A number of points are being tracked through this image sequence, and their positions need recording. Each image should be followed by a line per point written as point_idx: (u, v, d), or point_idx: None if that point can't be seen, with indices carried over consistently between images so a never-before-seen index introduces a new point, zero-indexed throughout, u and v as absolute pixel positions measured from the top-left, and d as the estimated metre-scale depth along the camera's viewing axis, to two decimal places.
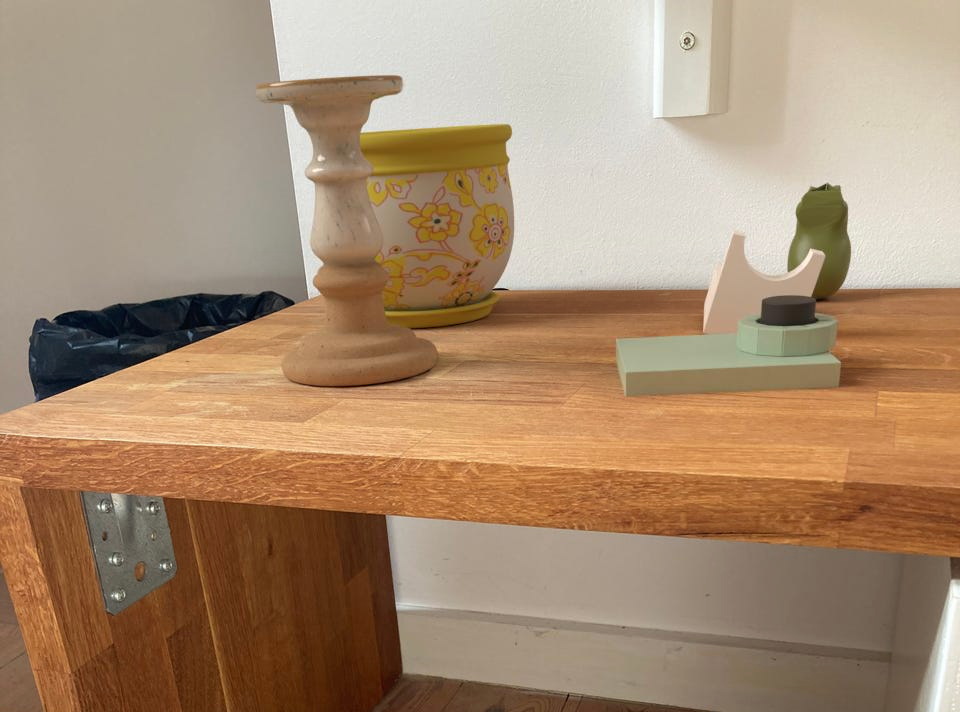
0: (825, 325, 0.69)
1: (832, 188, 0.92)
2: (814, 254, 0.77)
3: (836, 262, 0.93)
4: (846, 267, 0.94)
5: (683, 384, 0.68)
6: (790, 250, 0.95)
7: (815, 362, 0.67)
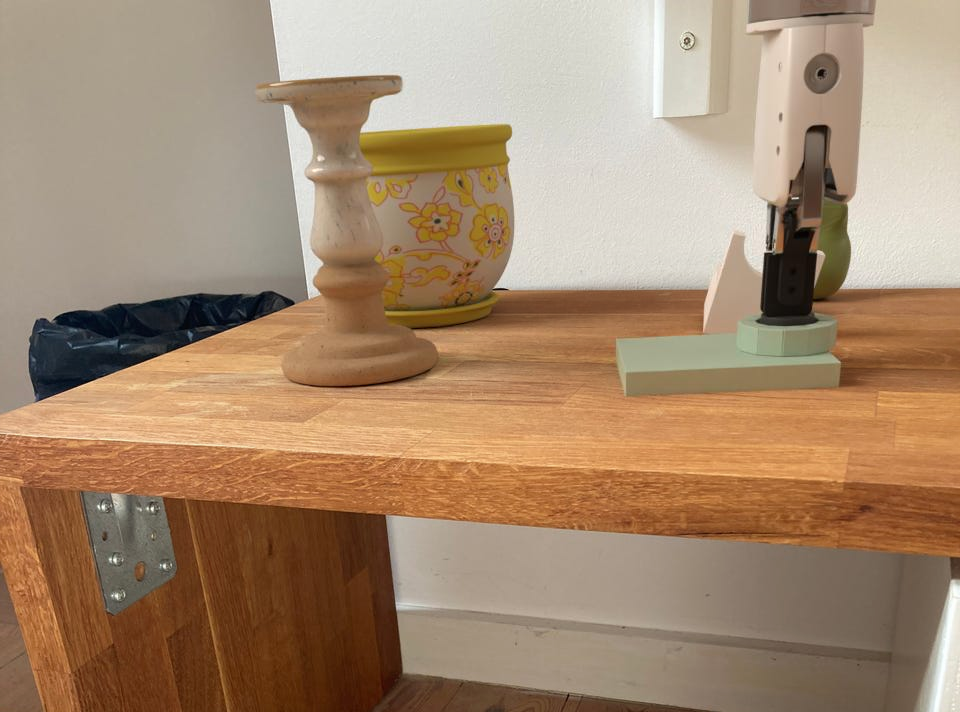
0: (825, 325, 0.69)
1: None
2: None
3: (836, 262, 0.93)
4: (846, 267, 0.94)
5: (683, 384, 0.68)
6: None
7: (815, 362, 0.67)
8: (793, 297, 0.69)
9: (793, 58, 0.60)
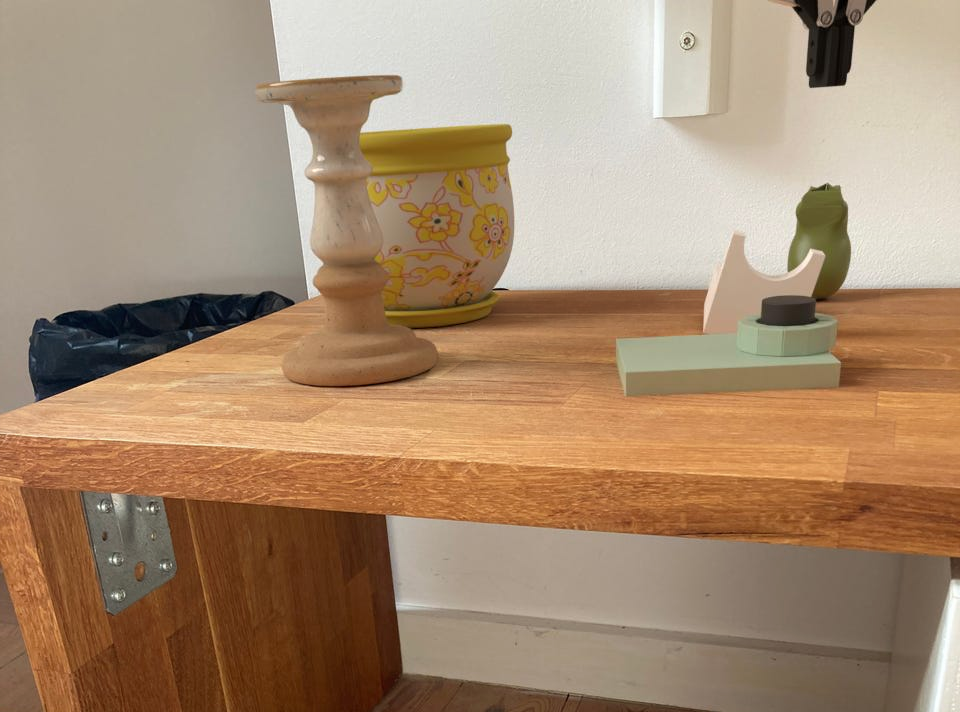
0: (825, 325, 0.69)
1: (832, 188, 0.92)
2: (814, 254, 0.77)
3: (836, 262, 0.93)
4: (846, 267, 0.94)
5: (683, 384, 0.68)
6: (790, 250, 0.95)
7: (815, 362, 0.67)
8: (811, 68, 0.80)
9: None
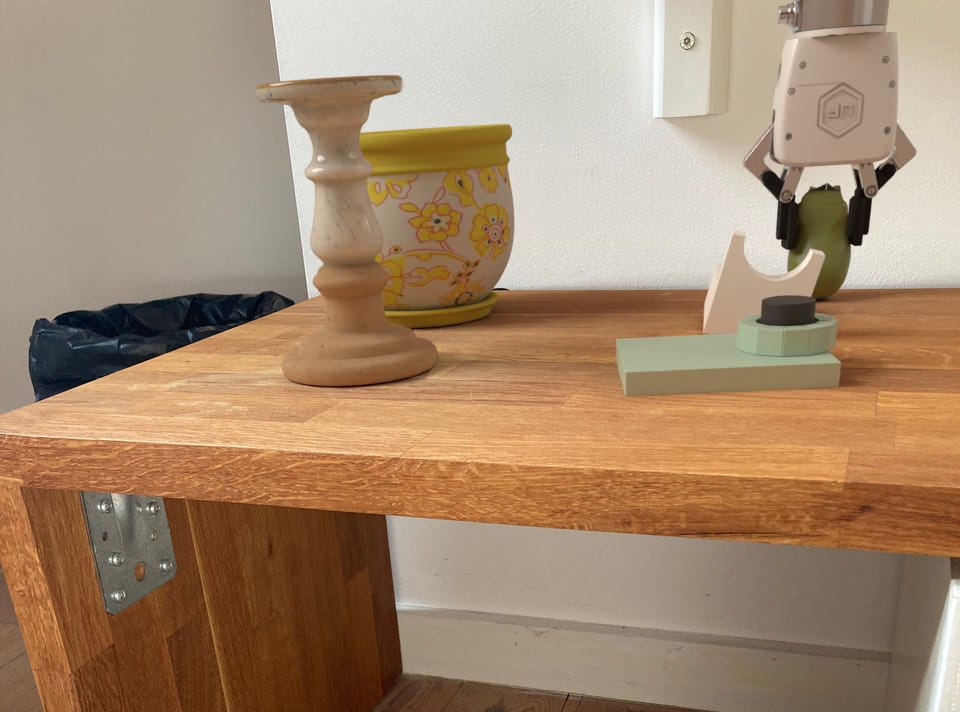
0: (825, 325, 0.69)
1: (832, 188, 0.92)
2: (814, 254, 0.77)
3: (835, 262, 0.93)
4: (846, 267, 0.94)
5: (683, 384, 0.68)
6: (790, 250, 0.95)
7: (815, 362, 0.67)
8: (777, 233, 0.94)
9: None
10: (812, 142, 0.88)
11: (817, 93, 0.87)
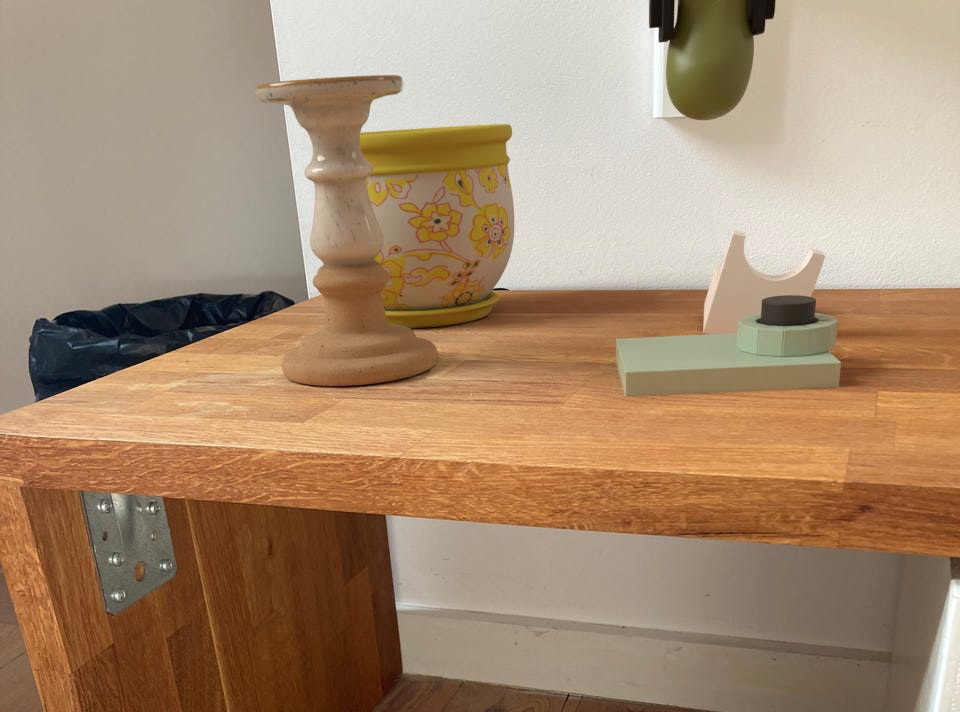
0: (825, 325, 0.69)
1: None
2: (814, 254, 0.77)
3: (729, 58, 0.65)
4: (746, 68, 0.66)
5: (683, 384, 0.68)
6: (669, 45, 0.67)
7: (815, 362, 0.67)
8: (650, 18, 0.66)
9: None
10: None
11: None
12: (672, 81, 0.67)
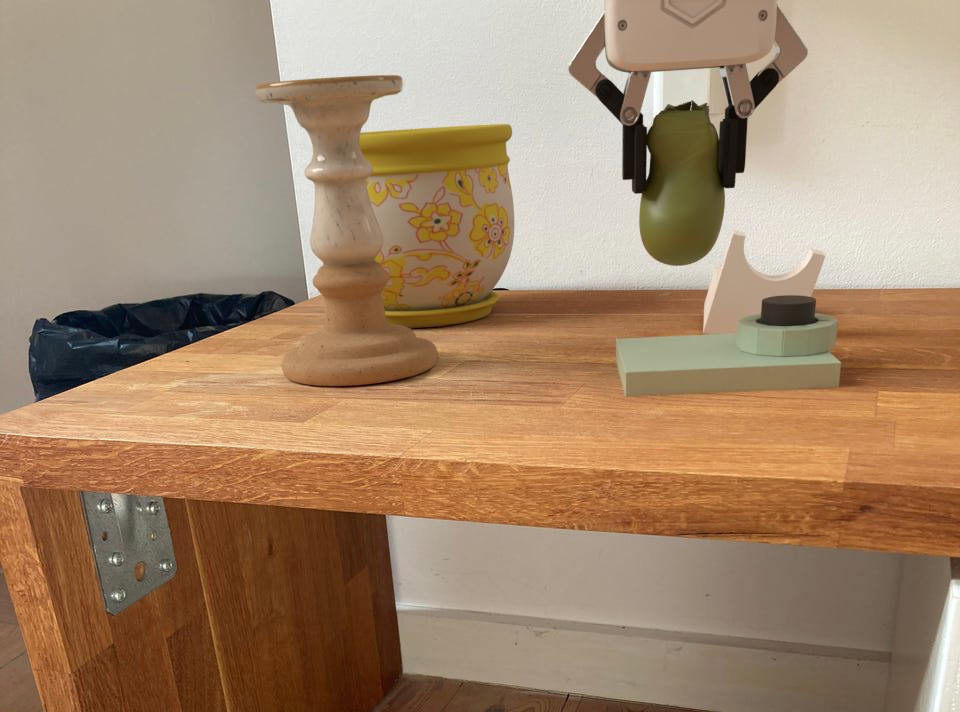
0: (825, 325, 0.69)
1: (697, 107, 0.65)
2: (814, 254, 0.77)
3: (700, 213, 0.66)
4: (717, 221, 0.67)
5: (683, 384, 0.68)
6: (642, 195, 0.68)
7: (815, 362, 0.67)
8: (623, 171, 0.67)
9: None
10: (656, 33, 0.61)
11: None
12: (645, 231, 0.68)
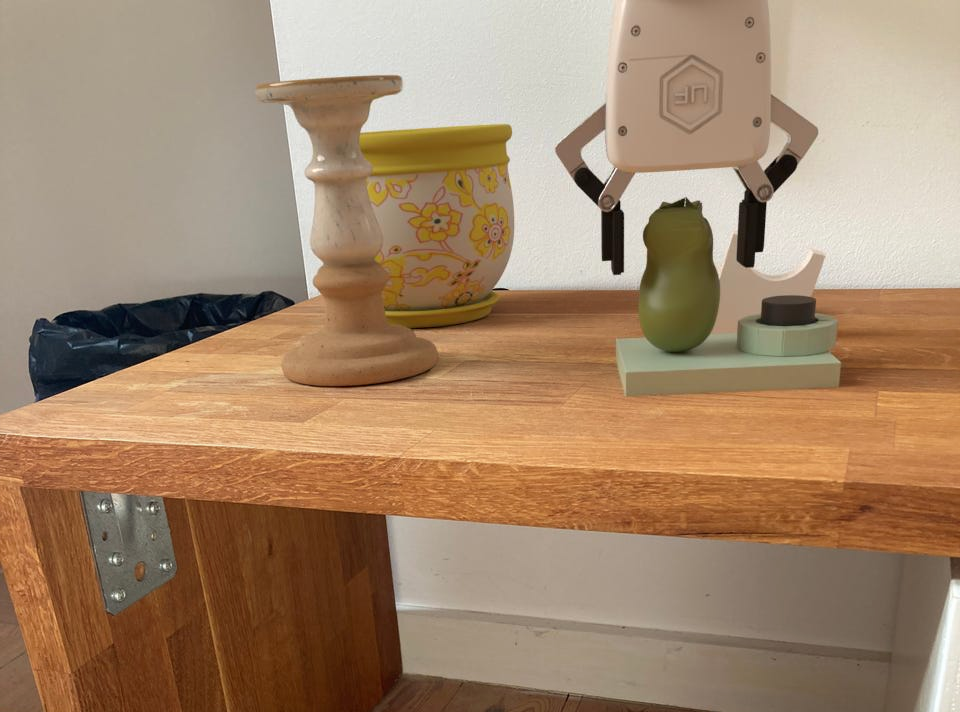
0: (825, 325, 0.69)
1: (690, 204, 0.68)
2: (814, 254, 0.77)
3: (697, 304, 0.69)
4: (713, 310, 0.70)
5: (683, 384, 0.68)
6: (640, 287, 0.71)
7: (815, 362, 0.67)
8: None
9: None
10: (655, 138, 0.64)
11: (657, 70, 0.62)
12: (644, 321, 0.71)
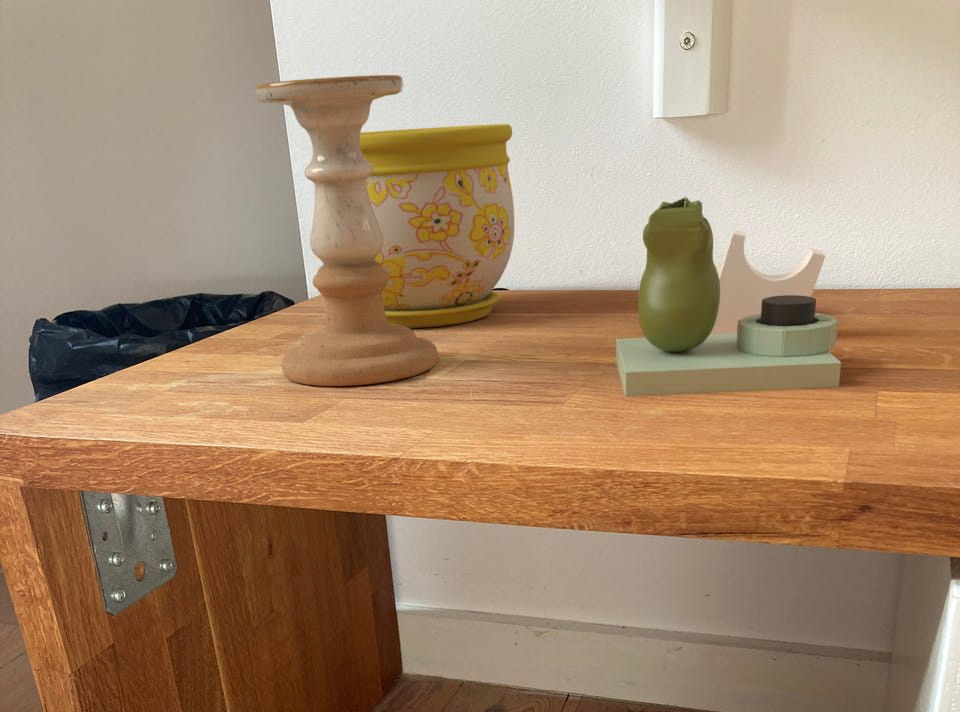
0: (825, 325, 0.69)
1: (690, 204, 0.68)
2: (814, 254, 0.77)
3: (697, 304, 0.69)
4: (713, 310, 0.70)
5: (683, 384, 0.68)
6: (640, 287, 0.71)
7: (815, 362, 0.67)
8: None
9: None
10: None
11: None
12: (644, 321, 0.71)
